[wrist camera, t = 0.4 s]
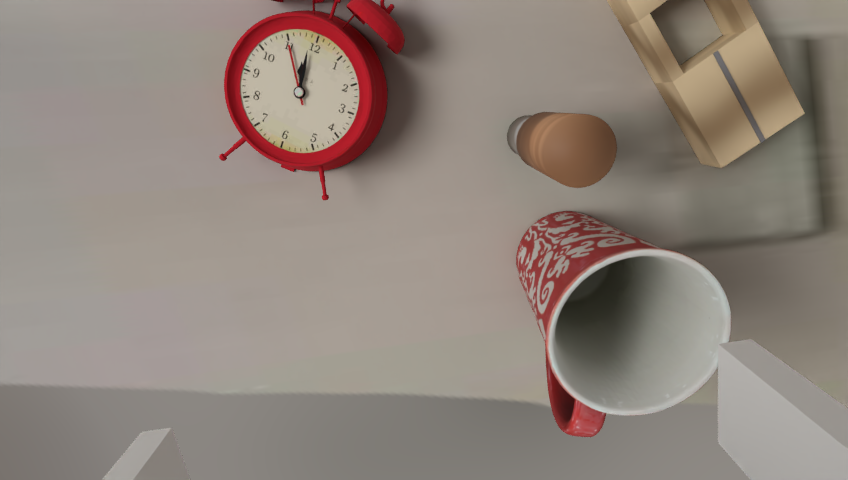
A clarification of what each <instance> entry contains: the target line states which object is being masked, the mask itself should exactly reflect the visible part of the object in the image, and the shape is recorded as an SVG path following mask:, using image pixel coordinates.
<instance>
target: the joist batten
mask: <svg viewBox="0 0 848 480" xmlns="http://www.w3.org/2000/svg"><path fill="white" fill-rule="evenodd" d="M666 1H667V0H607V2H608V3H609V5H610V7H611V8H612V10H613V12H614V14H615V15H616V17H617V19H618V21H619V22H620V24H621V26H622V28H623V29H624V31H625V33H626V35H627V36H628V38H629V40H630V41H631V43H632V45H633V47H634V48H635V50H636V52H637V54H638V55H639V57H640V59H641V61H642V62H643V64H644V66H645V67H646V69H647V71H648V73H649V74H650V76H651V78H652V80H653V81H654V83H655V85H656V87H657V88H658V90H659V92H660V93H661V95H662V97H663V99H664V100H665V102H666V104H667V106H668V107H669V109H670V111H671V113H672V114H673V116H674V118H675V119H676V121H677V123H678V125H679V126H680V128H681V130H682V132H683V133H684V135H685V137H686V139H687V140H688V142H689V144H690V146H691V147H692V149H693V151H694V152H695V154H696V156H697V158H698V159H699V161H700V163H701V164H704V165H709V166H714V167H718V168H723V167H724V166H726V165H727V164H729V163H730V162H732V161H733V160H735V159H736V158H738V157H739V156H741V155H742V154H744V153H745V152H747V151H749V150H750V149H752V148H753V147H755V146H756V145H758V144H759V143H762V142H763V141H765V140H766V139H767V138H768V137H770V136H771V135H773V134H774V133H776V132H777V131H779V130H780V129H782V128H783V127H785V126H786V125H788V124H789V123H791V122H792V121H794V120H796V119H797V118H799V117H800V116H802V115H803V114H805V113H804V111H803V109H802V107H801V105H800V103H799V101H798V99H797V97H796V95H795V93H794V91H793V89H792V87H791V85H790V83H789V81H788V79H787V77H786V75H785V73H784V71H783V69H782V67H781V65H780V63H779V61H778V60H777V58H776V56H775V54H774V52H773V50H772V48H771V46H770V44H769V42H768V40H767V38H766V36H765V34H764V32H763V30H762V28H761V26H760V24H759V22H758V20H757V18H756V16H755V14H754V12H753V10H752V8H751V6H750V4H749V2H748V0H704V1H705V2H706V4H707V6H708V8H709V10H710V12H711V14H712V16H713V18H714V20H715V21H716V23H717V25H718V27H719V29H720V31H721V33H722V35H723V36H721V37H720V38H718V39H717V40H716V41H714V42H713V43H711V44H710V45H709V46H707V47H706V48H704V49H703V50H701V51H700V52H699V53H697V54H696V55H694V56H693V57H691V58H690V59H689V60H687V61H686V62H684V63H683V64H682V65H680V66H679V64H678V63H677V61H676V59H675V57H674V56H673V54H672V52H671V50H670V48H669V47H668V45H667V43H666V41H665V39H664V38H663V36H662V34H661V32H660V30H659V29H658V27H657V25H656V23H655V22H654V20H653V18H652V16H651V14H650V13H651V12H652V11H653V10H655V9H656V8H657V7H659V6H660V5H662V4H663V3H664V2H666Z"/></svg>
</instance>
